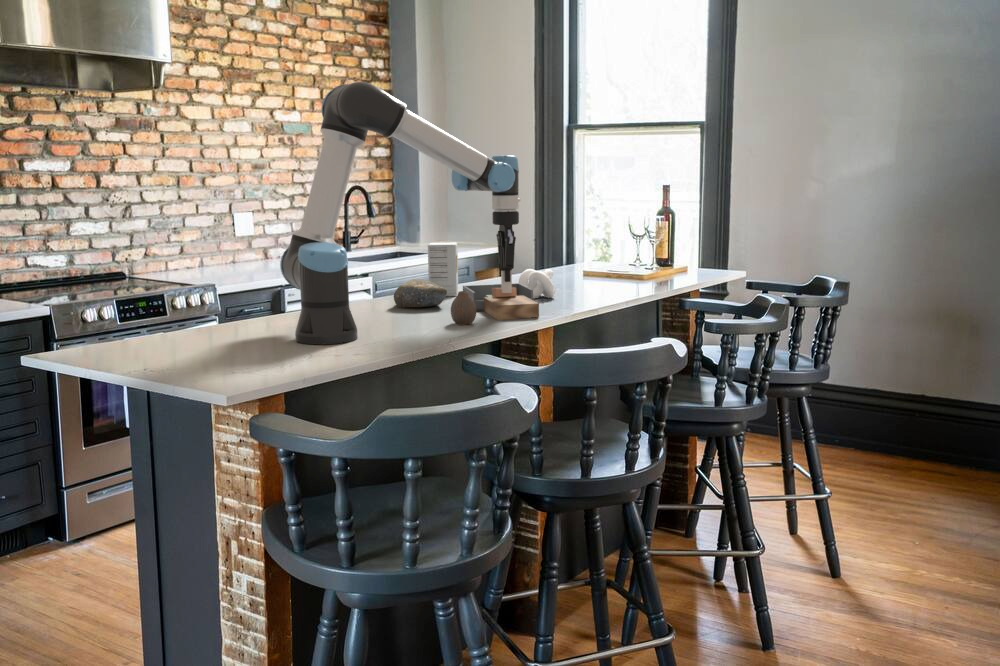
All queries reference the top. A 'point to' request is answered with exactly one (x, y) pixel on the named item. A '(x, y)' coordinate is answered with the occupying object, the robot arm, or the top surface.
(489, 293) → the box
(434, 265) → the supplement box
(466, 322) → the vase
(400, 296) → the stone
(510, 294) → the tile
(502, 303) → the wooden block
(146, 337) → the top surface
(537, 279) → the white knot sculpture
